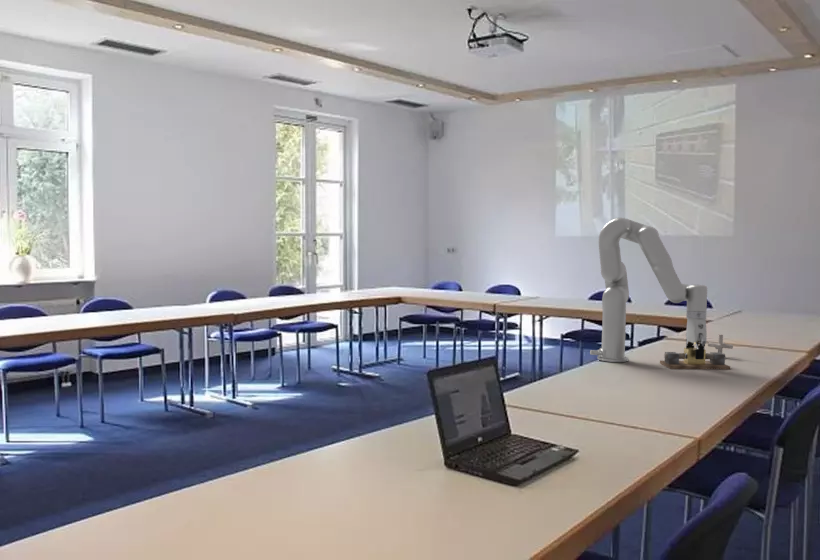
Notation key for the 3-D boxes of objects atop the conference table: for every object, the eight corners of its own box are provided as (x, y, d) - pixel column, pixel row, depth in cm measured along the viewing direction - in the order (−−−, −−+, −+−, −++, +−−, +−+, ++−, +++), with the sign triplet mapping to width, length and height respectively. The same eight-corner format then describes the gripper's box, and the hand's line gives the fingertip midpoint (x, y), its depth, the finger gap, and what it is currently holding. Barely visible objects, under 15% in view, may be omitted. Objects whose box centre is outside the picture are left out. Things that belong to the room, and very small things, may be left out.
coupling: (700, 362, 304) (701, 347, 303) (705, 364, 299) (705, 349, 299) (683, 362, 304) (684, 347, 303) (687, 364, 299) (688, 349, 299)
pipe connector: (728, 359, 318) (729, 336, 317) (704, 357, 324) (705, 334, 323) (734, 356, 326) (735, 334, 325) (711, 354, 332) (712, 332, 331)
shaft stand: (670, 368, 295) (670, 355, 295) (659, 363, 307) (660, 350, 307) (730, 369, 296) (730, 356, 295) (717, 363, 308) (717, 351, 307)
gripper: (714, 317, 291) (712, 361, 293) (696, 312, 309) (695, 353, 310) (695, 317, 291) (693, 360, 293) (679, 312, 309) (677, 353, 310)
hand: (694, 357), depth 301 cm, fingers open, 9 cm apart
